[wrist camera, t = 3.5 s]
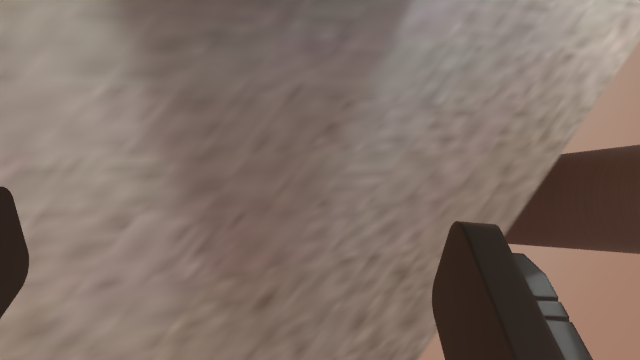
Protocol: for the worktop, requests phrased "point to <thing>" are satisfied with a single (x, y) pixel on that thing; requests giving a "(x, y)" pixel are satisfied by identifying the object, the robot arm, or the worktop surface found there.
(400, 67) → the worktop surface
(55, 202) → the worktop surface
